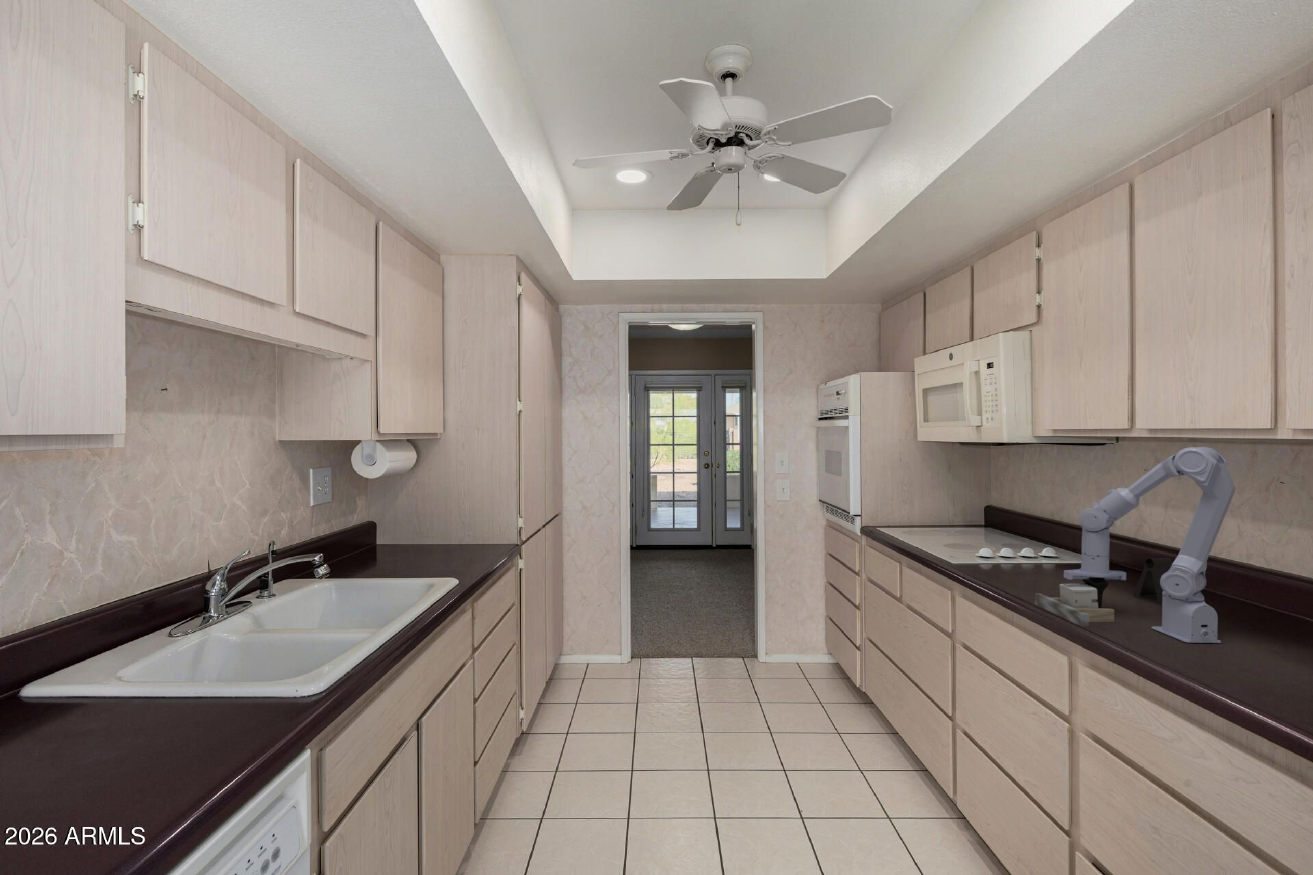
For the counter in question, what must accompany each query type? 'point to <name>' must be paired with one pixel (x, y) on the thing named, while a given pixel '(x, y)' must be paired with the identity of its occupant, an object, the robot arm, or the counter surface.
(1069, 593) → the skincare box
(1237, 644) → the counter surface
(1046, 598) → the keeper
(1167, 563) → the door stopper
